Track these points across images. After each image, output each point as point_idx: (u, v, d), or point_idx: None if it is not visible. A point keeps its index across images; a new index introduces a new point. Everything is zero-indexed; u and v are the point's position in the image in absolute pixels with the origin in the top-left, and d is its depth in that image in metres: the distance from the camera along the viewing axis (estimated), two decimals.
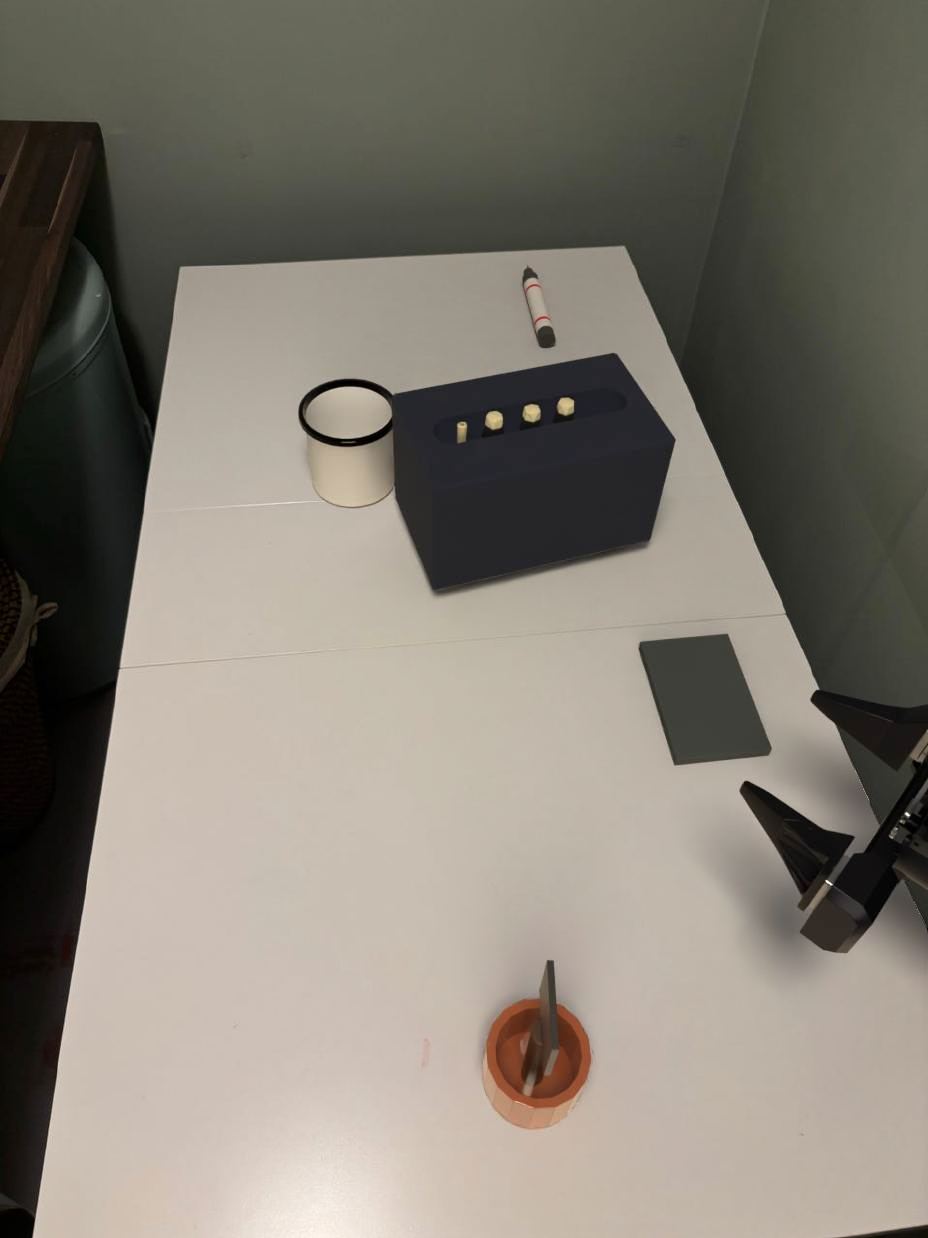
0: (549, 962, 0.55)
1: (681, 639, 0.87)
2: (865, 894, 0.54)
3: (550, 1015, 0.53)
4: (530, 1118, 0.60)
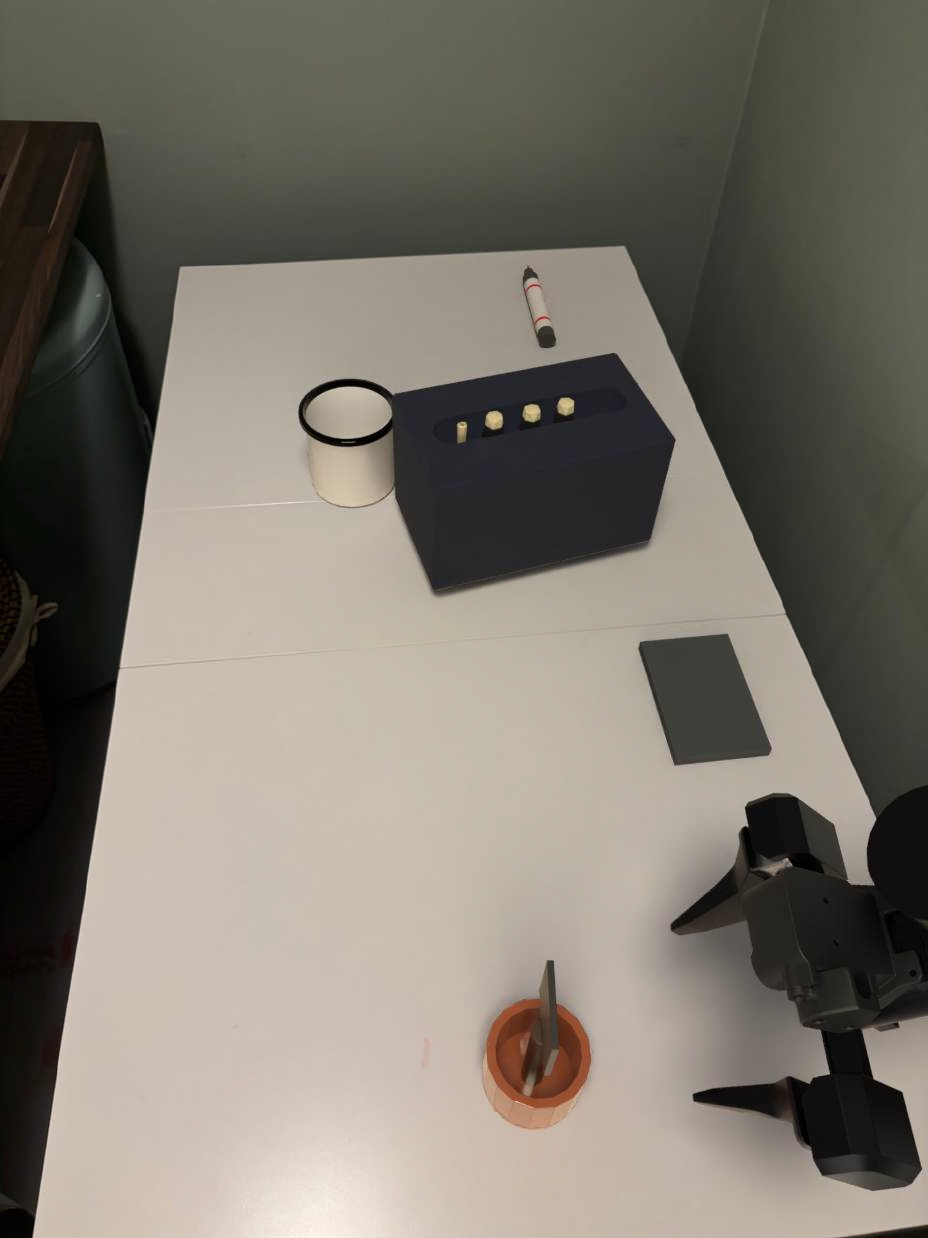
0: (549, 962, 0.55)
1: (681, 639, 0.87)
2: (842, 1137, 0.44)
3: (550, 1015, 0.53)
4: (530, 1118, 0.60)
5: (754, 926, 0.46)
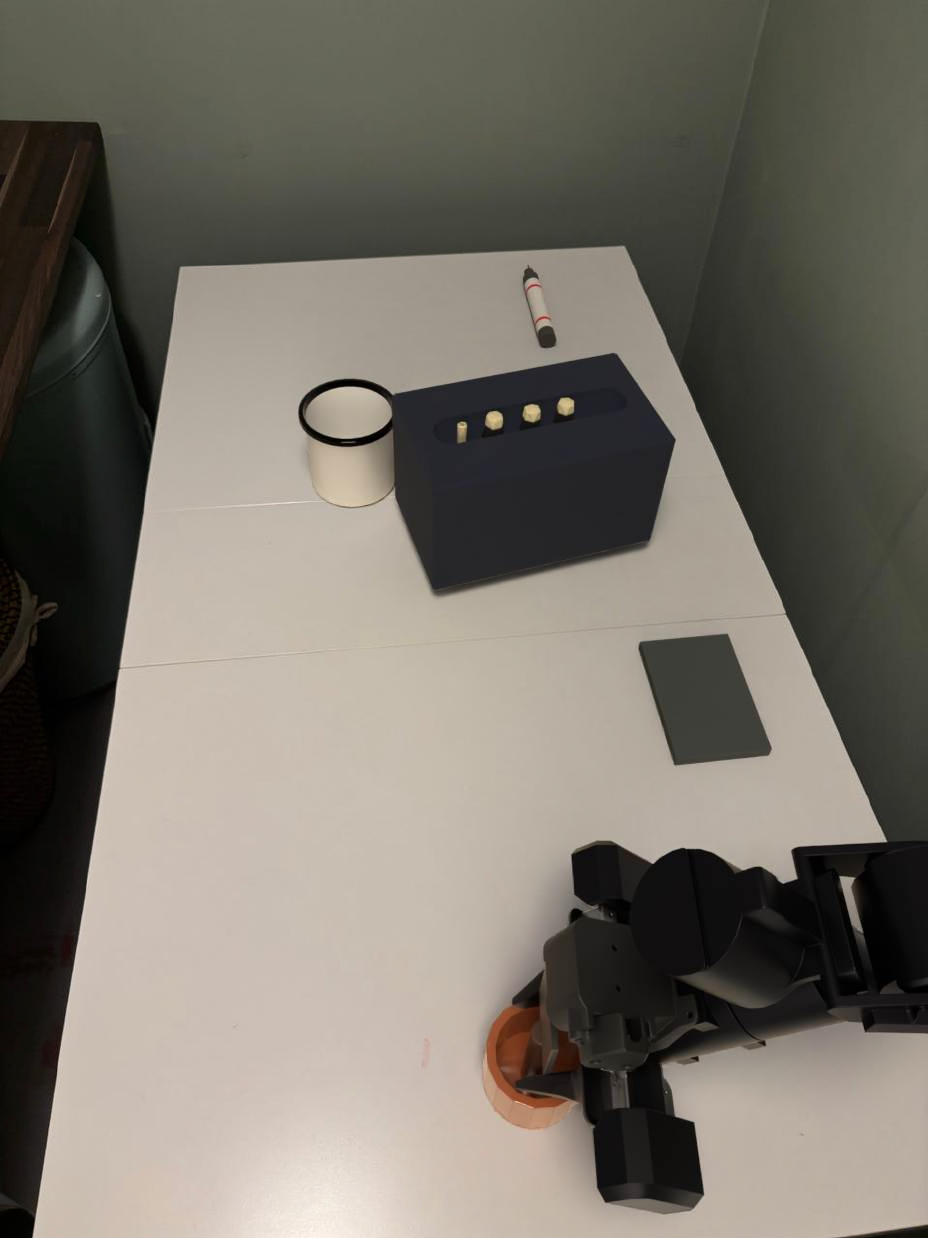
0: None
1: (681, 639, 0.87)
2: (622, 1167, 0.48)
3: None
4: (530, 1118, 0.60)
5: (550, 972, 0.50)
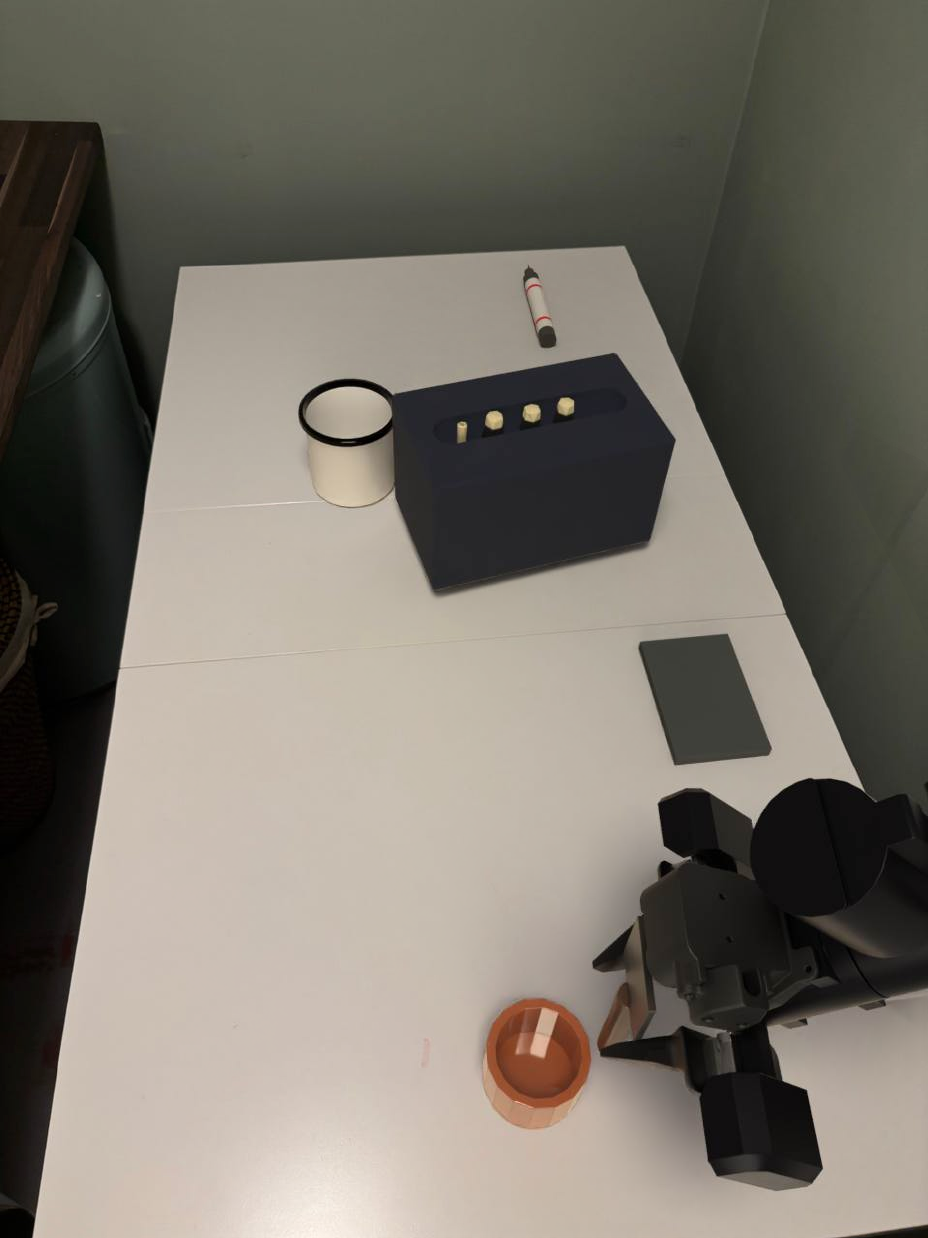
0: (640, 917, 0.50)
1: (681, 639, 0.87)
2: (736, 1136, 0.43)
3: (644, 974, 0.49)
4: (530, 1118, 0.60)
5: (650, 923, 0.46)
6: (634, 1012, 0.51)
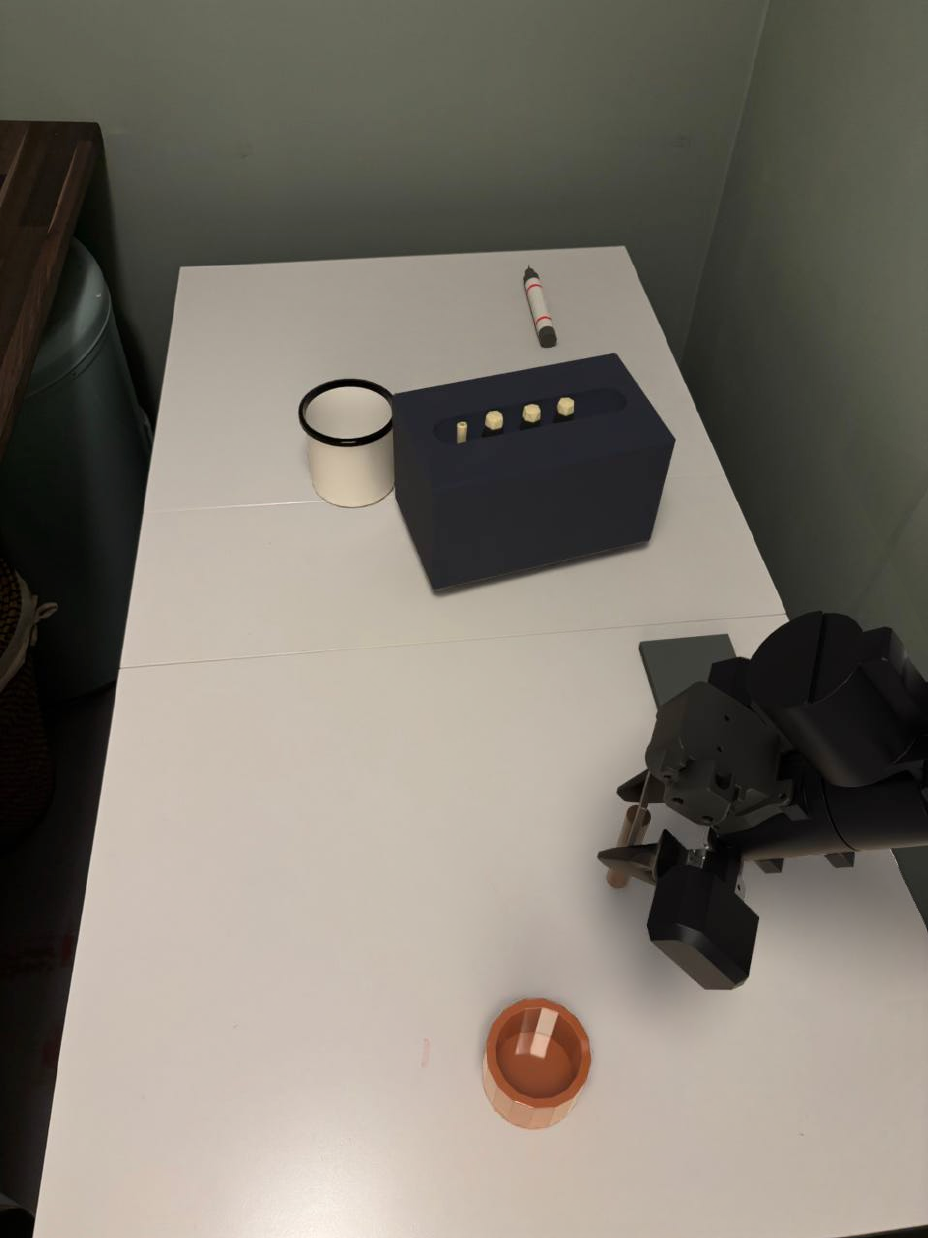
0: None
1: (681, 639, 0.87)
2: (675, 910, 0.49)
3: (648, 781, 0.55)
4: (530, 1118, 0.60)
5: (658, 724, 0.52)
6: (634, 821, 0.57)
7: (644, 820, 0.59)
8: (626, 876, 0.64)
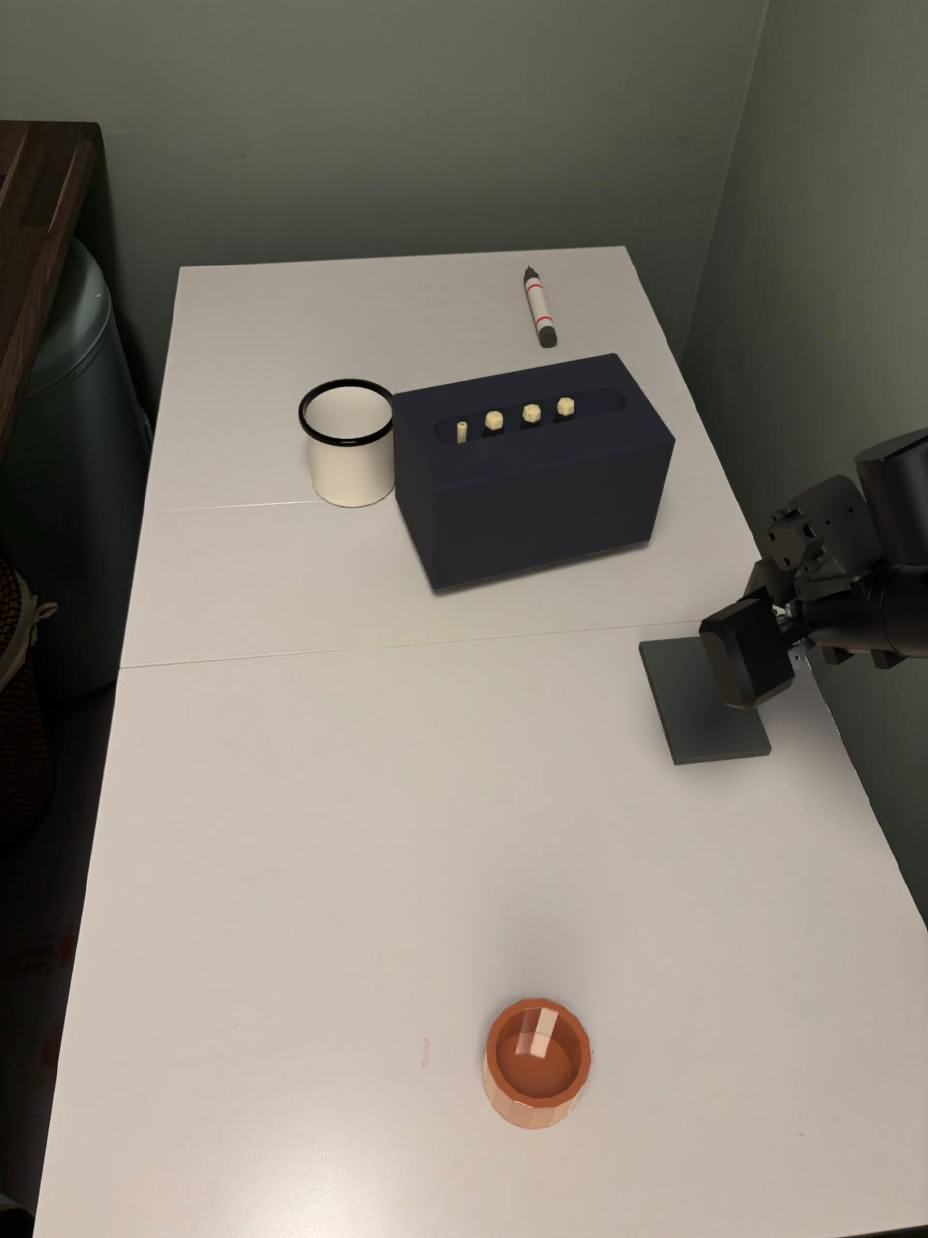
0: None
1: (681, 639, 0.87)
2: (726, 615, 0.61)
3: None
4: (530, 1118, 0.60)
5: None
6: None
7: None
8: None
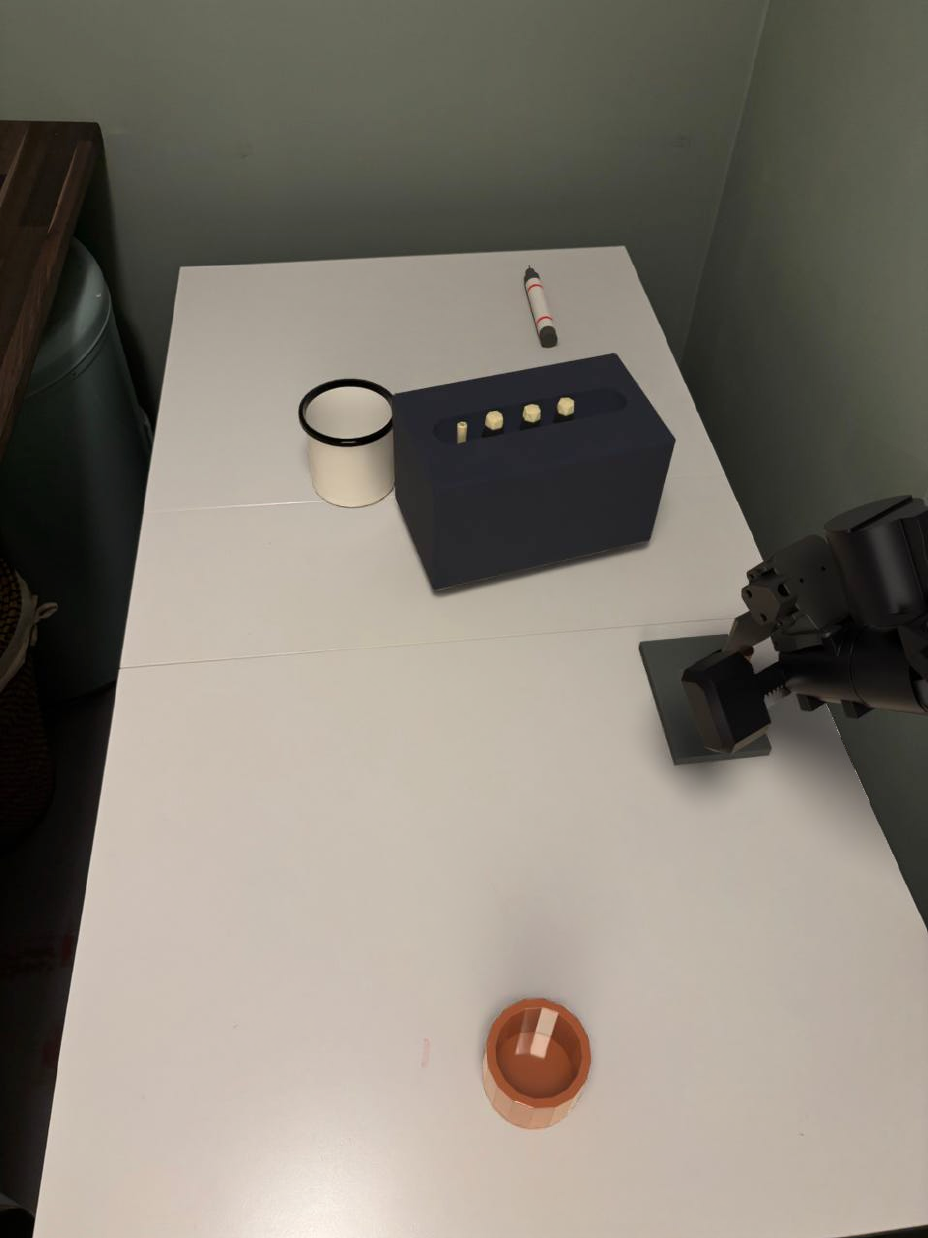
0: None
1: (681, 639, 0.87)
2: (707, 666, 0.66)
3: None
4: (530, 1118, 0.60)
5: None
6: None
7: (745, 653, 0.75)
8: None
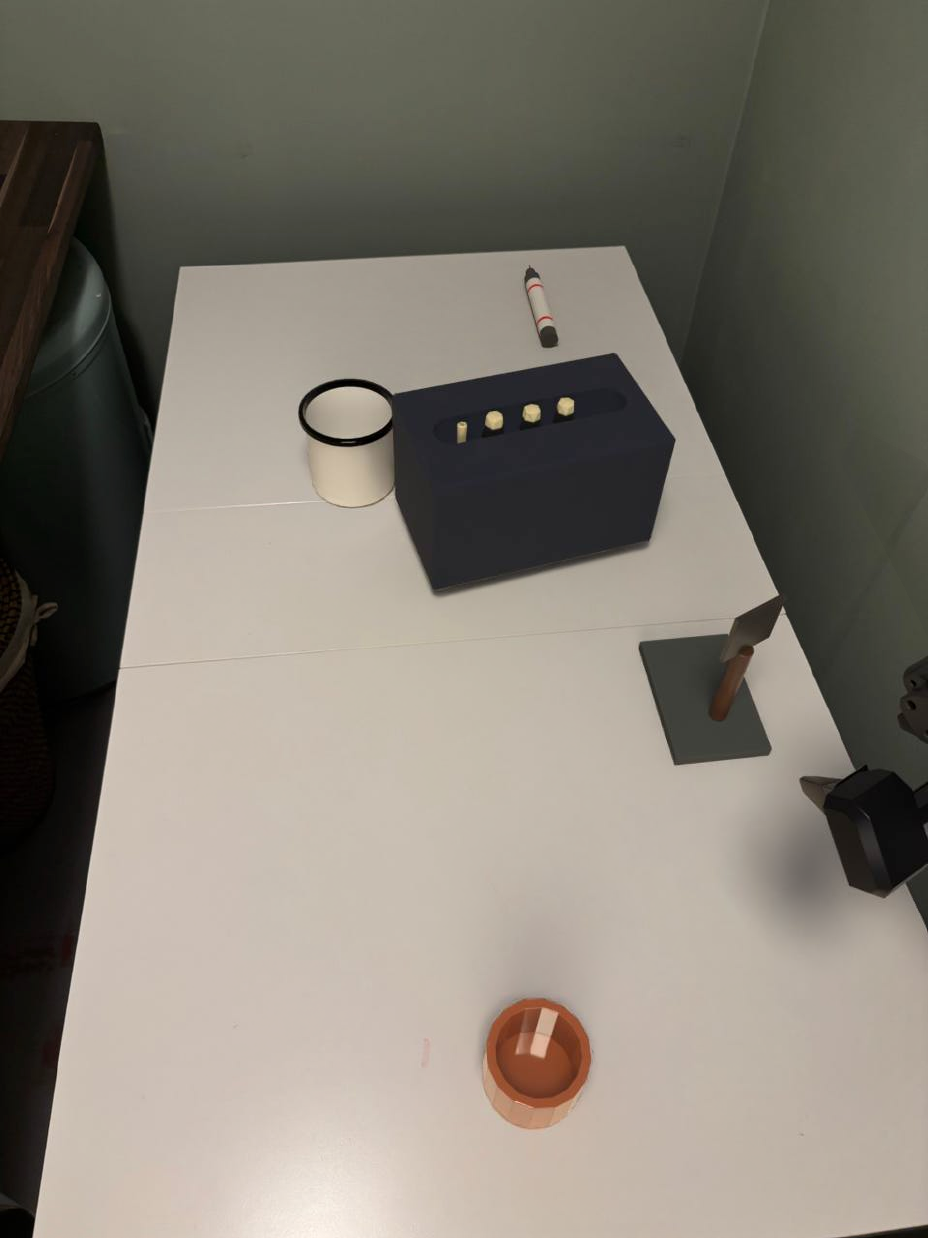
0: (784, 593, 0.72)
1: (681, 639, 0.87)
2: (857, 792, 0.54)
3: (753, 609, 0.71)
4: (530, 1118, 0.60)
5: None
6: None
7: (745, 653, 0.75)
8: (721, 708, 0.80)
